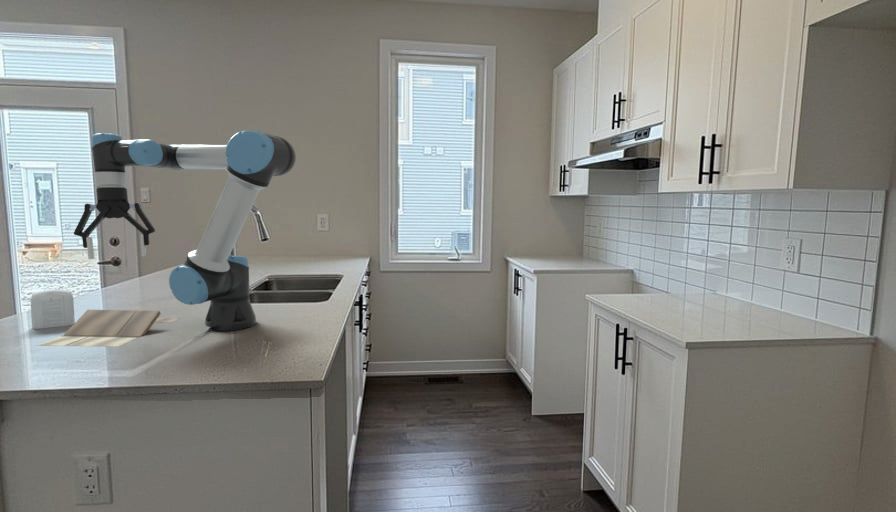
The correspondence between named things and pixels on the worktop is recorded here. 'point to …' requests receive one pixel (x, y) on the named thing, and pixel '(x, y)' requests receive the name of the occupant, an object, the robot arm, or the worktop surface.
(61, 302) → the photo printer
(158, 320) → the plank
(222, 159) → the robot arm
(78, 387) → the worktop surface
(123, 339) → the light wood flat board
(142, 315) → the plank
